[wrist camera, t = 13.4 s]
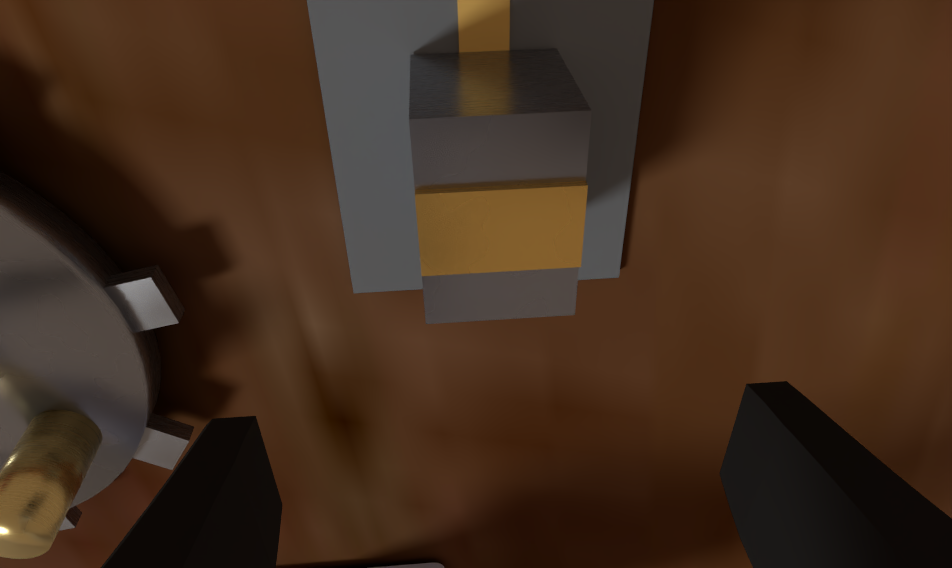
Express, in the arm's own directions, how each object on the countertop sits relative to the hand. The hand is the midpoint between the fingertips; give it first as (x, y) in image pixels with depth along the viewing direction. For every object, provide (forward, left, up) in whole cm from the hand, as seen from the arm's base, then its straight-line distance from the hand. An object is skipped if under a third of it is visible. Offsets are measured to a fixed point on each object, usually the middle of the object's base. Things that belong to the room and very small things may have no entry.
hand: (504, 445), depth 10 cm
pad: (+1, -1, -10) cm, 10 cm away
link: (+1, -1, -9) cm, 9 cm away
